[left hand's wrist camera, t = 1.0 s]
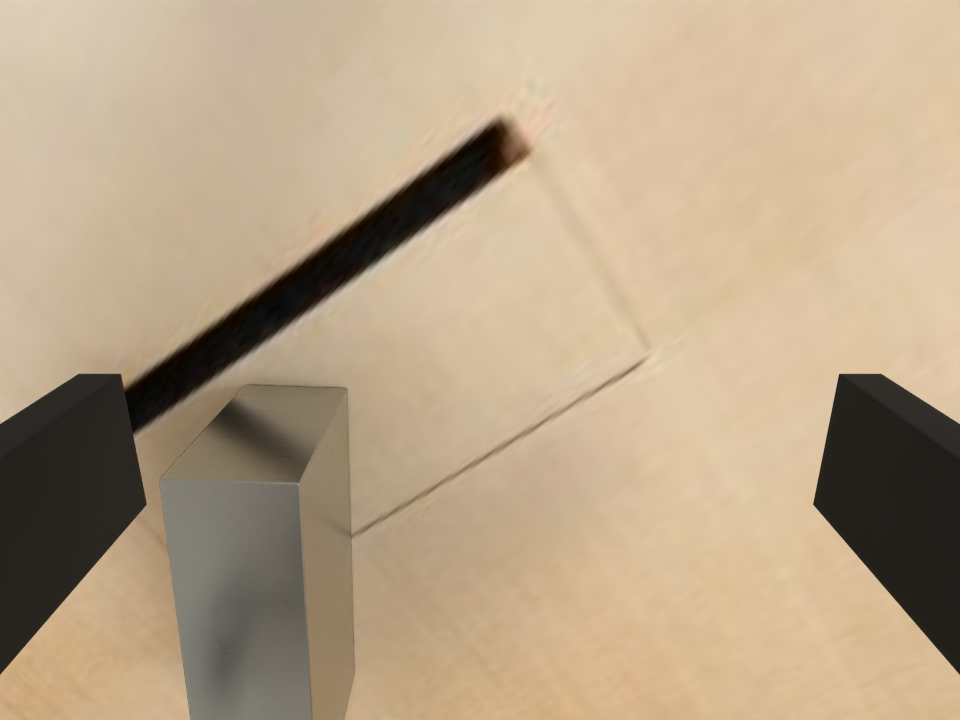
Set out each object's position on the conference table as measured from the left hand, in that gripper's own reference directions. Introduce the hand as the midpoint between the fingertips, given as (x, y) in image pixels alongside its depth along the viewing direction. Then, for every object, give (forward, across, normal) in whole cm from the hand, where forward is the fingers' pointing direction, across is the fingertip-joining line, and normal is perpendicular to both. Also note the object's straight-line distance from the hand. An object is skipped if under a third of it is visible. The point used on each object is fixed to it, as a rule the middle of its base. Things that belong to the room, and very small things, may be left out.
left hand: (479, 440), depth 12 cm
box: (+25, -11, -20) cm, 34 cm away
